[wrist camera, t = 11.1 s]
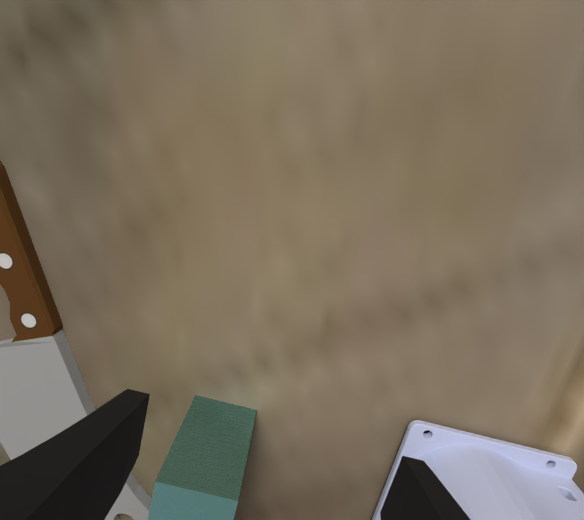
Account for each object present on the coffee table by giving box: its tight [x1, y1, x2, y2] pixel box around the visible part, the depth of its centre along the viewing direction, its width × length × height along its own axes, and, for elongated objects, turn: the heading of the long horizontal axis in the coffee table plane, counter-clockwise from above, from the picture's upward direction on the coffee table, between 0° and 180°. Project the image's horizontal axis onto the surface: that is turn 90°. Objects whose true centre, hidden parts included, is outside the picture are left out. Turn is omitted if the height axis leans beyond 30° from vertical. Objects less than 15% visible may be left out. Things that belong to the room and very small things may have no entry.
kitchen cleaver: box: [0, 161, 152, 520], centre depth 22 cm, size 24×1×10 cm
